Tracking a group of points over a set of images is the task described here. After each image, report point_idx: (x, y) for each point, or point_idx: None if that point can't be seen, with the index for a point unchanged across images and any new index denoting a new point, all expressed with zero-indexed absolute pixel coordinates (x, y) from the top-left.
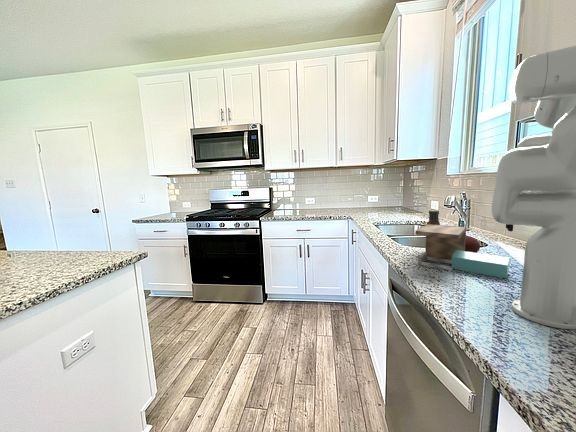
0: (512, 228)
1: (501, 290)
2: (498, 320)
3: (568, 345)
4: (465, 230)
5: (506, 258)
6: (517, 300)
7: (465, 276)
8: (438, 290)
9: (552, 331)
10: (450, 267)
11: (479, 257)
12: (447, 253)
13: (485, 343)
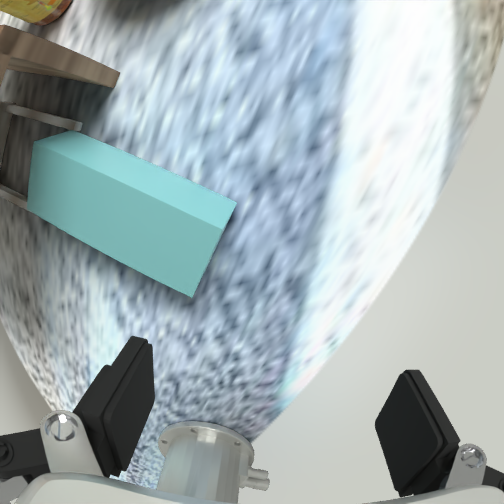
0: (145, 415)
1: (162, 366)
2: (136, 457)
3: None
4: (4, 61)
5: (206, 236)
6: (171, 431)
7: (89, 273)
8: (50, 375)
9: None
10: None
11: (103, 221)
12: (50, 73)
13: (120, 480)
